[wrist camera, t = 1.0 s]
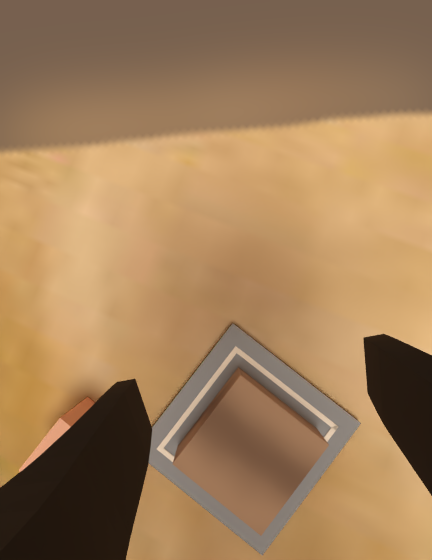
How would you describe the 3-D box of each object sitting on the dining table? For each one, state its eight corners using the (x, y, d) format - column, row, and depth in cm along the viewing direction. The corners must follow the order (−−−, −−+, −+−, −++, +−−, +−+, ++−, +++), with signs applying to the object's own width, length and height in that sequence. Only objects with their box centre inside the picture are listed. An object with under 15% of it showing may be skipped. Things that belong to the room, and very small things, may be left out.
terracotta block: (96, 474, 28) (69, 512, 23) (54, 439, 28) (18, 470, 23) (130, 430, 28) (110, 459, 23) (88, 396, 28) (60, 417, 23)
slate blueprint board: (261, 549, 27) (262, 556, 27) (135, 448, 28) (133, 451, 27) (357, 420, 28) (361, 423, 27) (232, 322, 28) (232, 323, 28)
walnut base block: (256, 509, 27) (261, 535, 24) (177, 445, 27) (172, 464, 24) (317, 428, 27) (329, 444, 24) (238, 366, 28) (240, 375, 25)
